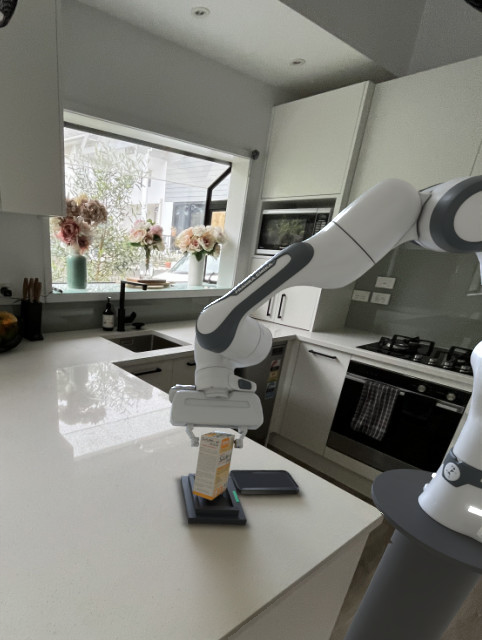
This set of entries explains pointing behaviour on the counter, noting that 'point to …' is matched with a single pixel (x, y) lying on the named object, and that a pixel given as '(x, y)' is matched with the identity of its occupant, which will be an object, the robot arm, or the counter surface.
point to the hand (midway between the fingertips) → (216, 447)
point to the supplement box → (213, 464)
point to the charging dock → (212, 505)
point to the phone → (263, 482)
